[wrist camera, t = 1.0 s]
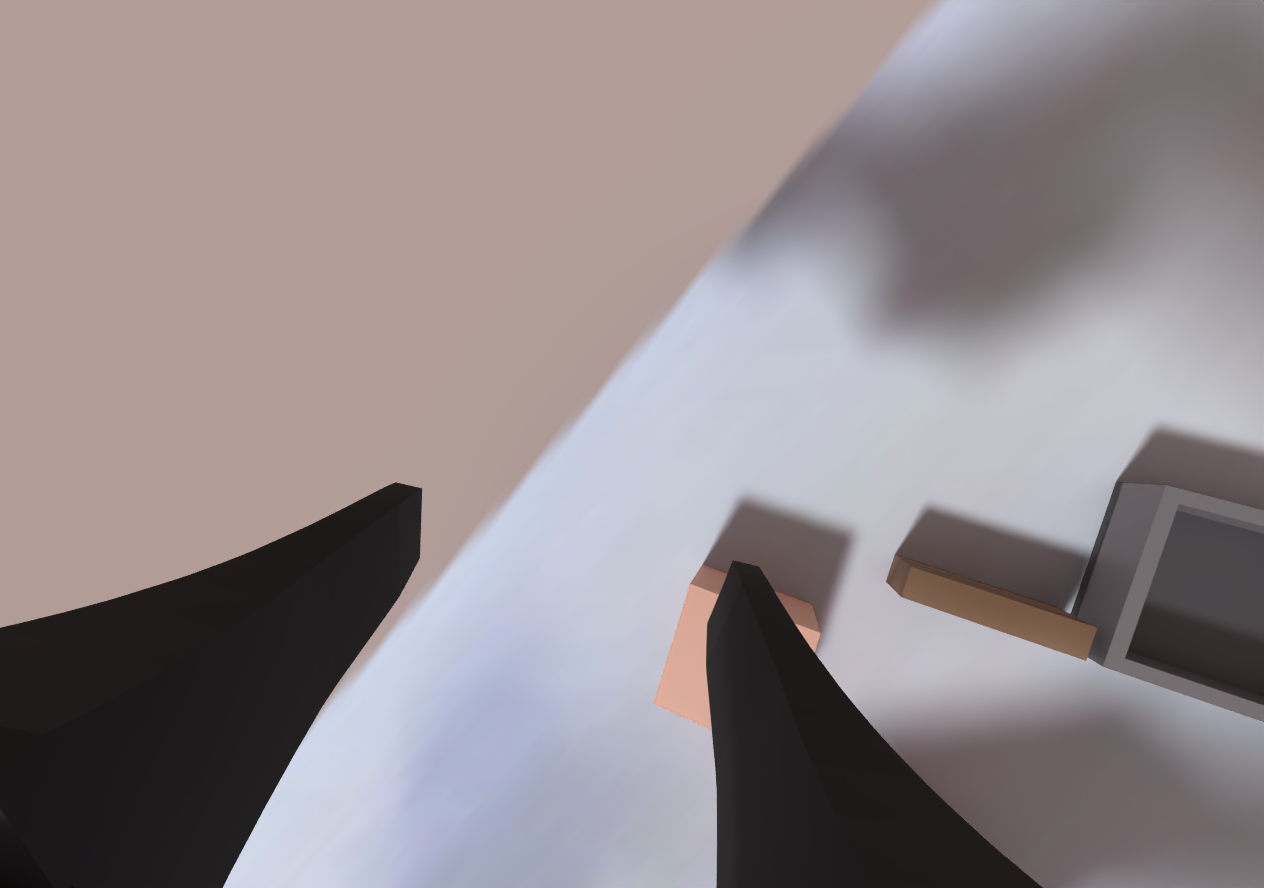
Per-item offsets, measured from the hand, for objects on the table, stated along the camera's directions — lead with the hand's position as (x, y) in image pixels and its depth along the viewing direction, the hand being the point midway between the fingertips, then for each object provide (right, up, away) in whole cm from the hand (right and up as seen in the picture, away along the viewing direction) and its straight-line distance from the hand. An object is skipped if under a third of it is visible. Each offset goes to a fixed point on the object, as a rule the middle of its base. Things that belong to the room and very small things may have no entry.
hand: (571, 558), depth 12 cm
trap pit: (+23, -3, +7) cm, 24 cm away
